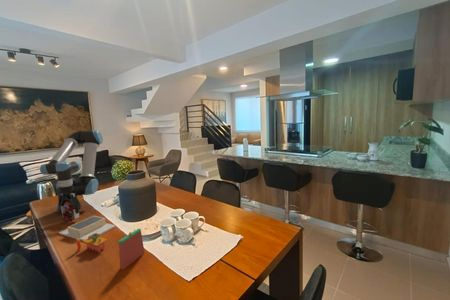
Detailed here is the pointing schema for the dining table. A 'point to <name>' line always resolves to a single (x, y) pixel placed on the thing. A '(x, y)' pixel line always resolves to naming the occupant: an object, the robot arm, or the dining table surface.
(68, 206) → the toy fire truck
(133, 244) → the toy building block set
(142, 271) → the dining table surface
